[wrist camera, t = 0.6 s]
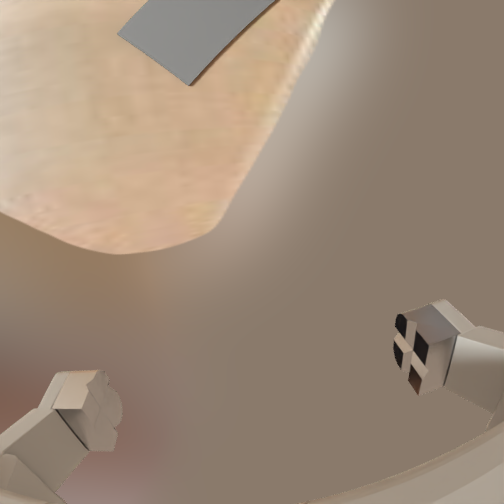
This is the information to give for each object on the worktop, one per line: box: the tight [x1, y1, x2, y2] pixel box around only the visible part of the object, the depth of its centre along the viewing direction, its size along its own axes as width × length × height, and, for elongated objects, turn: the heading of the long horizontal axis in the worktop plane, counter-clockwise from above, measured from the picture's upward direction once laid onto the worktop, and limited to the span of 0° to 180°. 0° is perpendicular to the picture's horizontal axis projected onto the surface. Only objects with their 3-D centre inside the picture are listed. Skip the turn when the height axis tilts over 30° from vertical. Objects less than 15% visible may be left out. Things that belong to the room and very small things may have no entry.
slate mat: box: [117, 0, 275, 86], centre depth 37 cm, size 14×20×1 cm
